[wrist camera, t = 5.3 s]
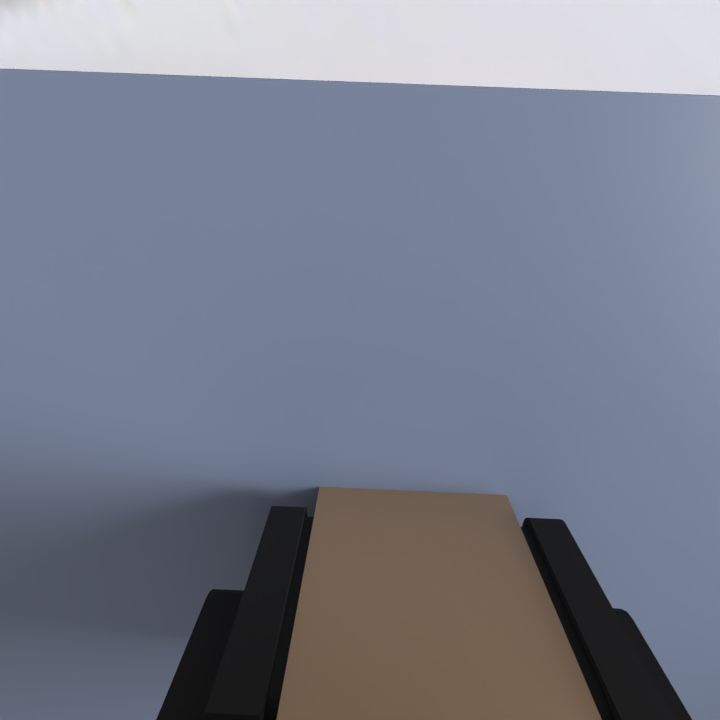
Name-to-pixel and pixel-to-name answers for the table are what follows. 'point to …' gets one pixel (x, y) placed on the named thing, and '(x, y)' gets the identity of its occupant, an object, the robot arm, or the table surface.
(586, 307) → the cover
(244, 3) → the table surface
